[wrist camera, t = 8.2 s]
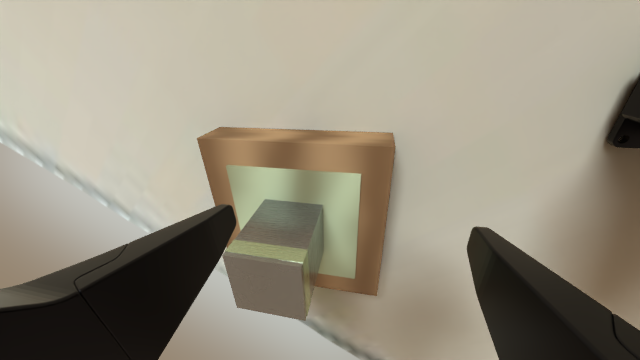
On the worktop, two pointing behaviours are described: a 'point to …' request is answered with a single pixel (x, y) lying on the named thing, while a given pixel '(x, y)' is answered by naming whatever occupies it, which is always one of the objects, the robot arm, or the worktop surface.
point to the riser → (311, 189)
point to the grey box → (277, 258)
